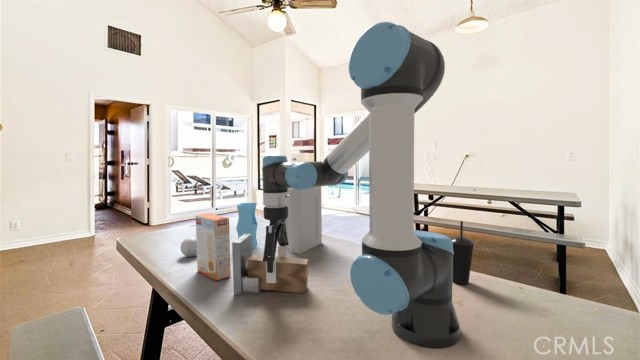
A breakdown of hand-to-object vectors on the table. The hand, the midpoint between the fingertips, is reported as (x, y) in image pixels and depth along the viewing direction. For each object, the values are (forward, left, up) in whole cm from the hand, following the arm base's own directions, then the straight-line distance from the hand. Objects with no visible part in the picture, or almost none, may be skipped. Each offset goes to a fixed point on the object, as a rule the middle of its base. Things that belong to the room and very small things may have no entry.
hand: (277, 273), depth 91 cm
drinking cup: (+10, -58, -5) cm, 59 cm away
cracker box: (+10, +26, -5) cm, 28 cm away
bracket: (0, +9, -5) cm, 10 cm away
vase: (+44, +26, -5) cm, 51 cm away
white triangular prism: (+46, +2, -5) cm, 46 cm away
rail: (0, 0, -4) cm, 4 cm away
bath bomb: (+28, +45, -5) cm, 53 cm away
